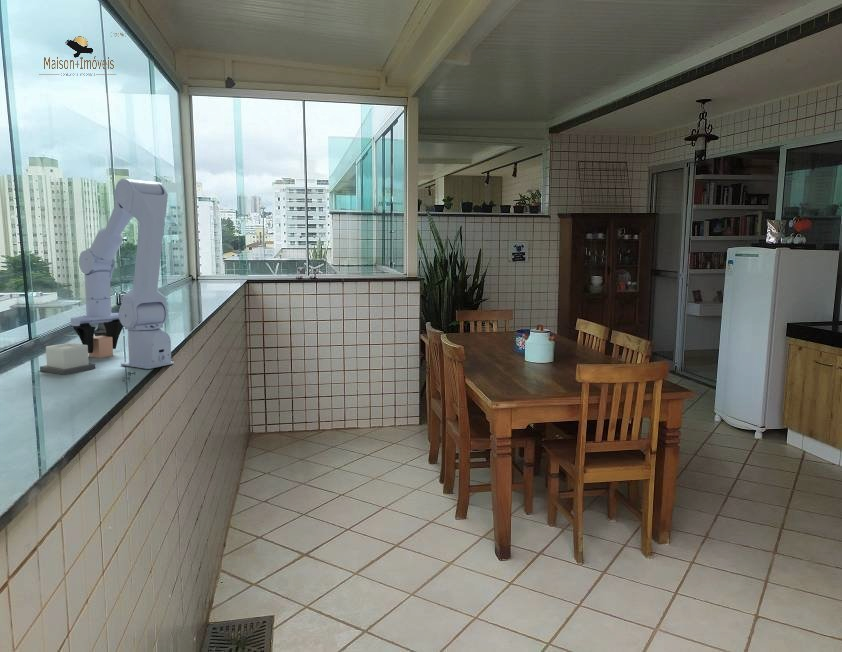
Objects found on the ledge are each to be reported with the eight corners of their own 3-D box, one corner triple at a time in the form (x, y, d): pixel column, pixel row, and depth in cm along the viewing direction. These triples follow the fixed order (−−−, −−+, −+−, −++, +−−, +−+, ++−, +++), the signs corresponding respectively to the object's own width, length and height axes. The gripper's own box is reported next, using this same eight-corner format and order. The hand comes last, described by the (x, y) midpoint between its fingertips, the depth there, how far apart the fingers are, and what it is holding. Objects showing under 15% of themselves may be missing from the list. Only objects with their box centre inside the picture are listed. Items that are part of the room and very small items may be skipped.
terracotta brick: (113, 355, 160) (112, 336, 159) (99, 358, 156) (98, 338, 156) (102, 354, 162) (101, 335, 161) (88, 356, 158) (87, 337, 157)
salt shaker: (120, 341, 181) (118, 301, 179) (108, 344, 175) (106, 303, 173) (101, 340, 181) (99, 300, 180) (88, 344, 175) (86, 302, 174)
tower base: (95, 368, 144) (94, 344, 143) (63, 374, 137) (62, 350, 136) (72, 364, 147) (71, 341, 147) (40, 370, 140) (38, 346, 139)
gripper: (111, 295, 165) (113, 345, 167) (61, 299, 152) (64, 353, 154) (130, 297, 162) (132, 347, 164) (80, 301, 149) (83, 356, 151)
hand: (100, 350), depth 159 cm, fingers open, 6 cm apart
